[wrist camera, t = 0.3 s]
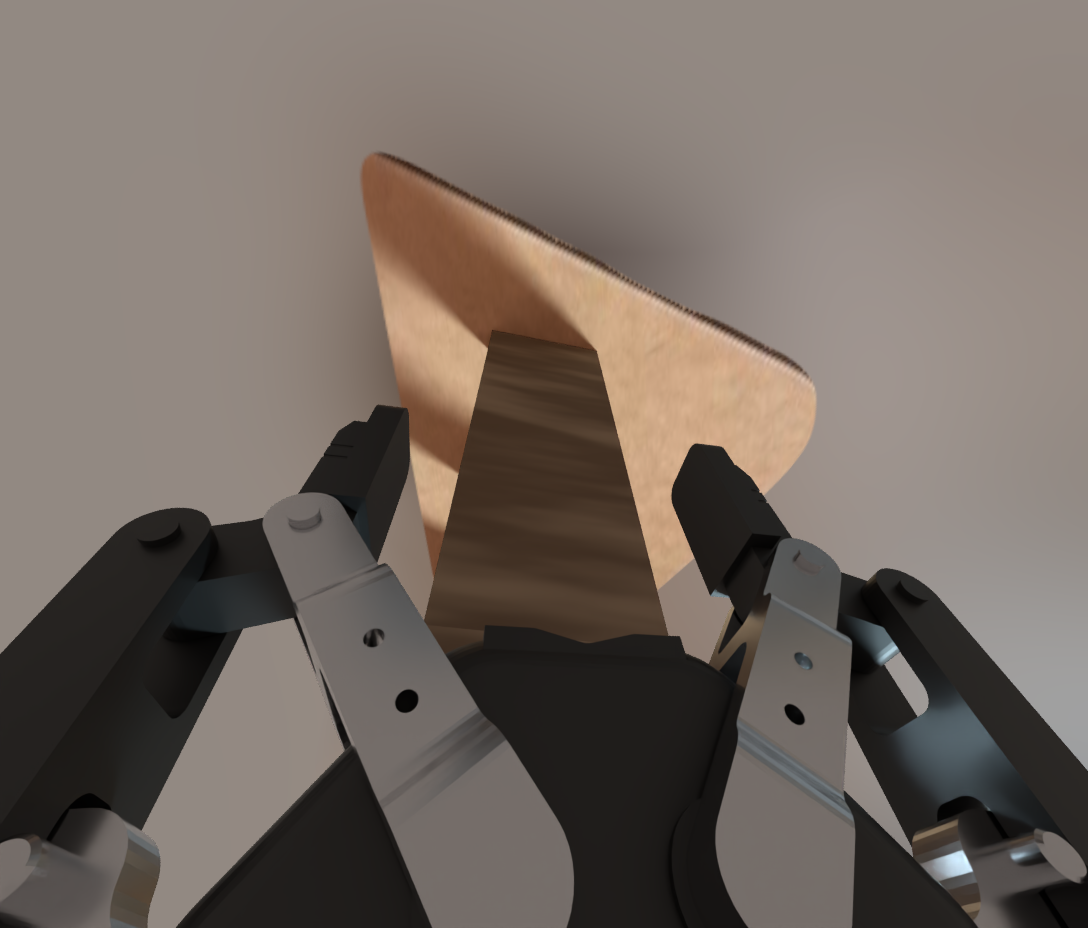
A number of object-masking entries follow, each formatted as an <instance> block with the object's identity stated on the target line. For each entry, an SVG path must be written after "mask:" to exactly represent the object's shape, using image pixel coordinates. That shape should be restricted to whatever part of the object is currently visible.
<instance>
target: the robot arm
mask: <svg viewBox="0 0 1088 928" xmlns="http://www.w3.org/2000/svg"><path fill="white" fill-rule="evenodd" d="M409 462H410V443H409V413H408V409H407V408H401V407H393V406H385V405H377V406H376V407H375V409H374V411H373V412H372V414H371V416H370V418H369V420H368V421H367V422H360V421H353V422H352V423H350V424H349V425H347V426H345V427H344V428H342V429H341V430H339V431H338V433H337V434H336V436H335V438H334V439H333V441H332V442H331V445H330V446H329V447H328V448H327V450H326V451H325V453H324V457H322V458H321V459H320V461H319V462H318V464H317V465H316V467H315V469H314V470H313V472H312V473H311V475H310V476H309V478H308V479H307V481H306V483H305V484H304V486H303V487H302V489H301V490H300V492H299V493H298V494H297V495H293V496H290V497H287V498H285V499H283V500H281V501H279V502H278V503H276V504H275V505H274V506H272V507H271V508H270V509H269V510H268V512H267V513H266V514H265V516H264V518H260V519H257V520H252V521H246V522H238V523H231V524H223V525H215V526H211V523H210V521H209V519H208V517H207V516H206V515H205V514H204V513H202V512H200V511H198V510H194V509H189V508H170V509H164V510H159V511H155V512H152V513H149V514H146V515H143V516H141V517H139V518H136V519H134V520H133V521H131V522H129V523H127V524H126V525H124V526H123V527H122V528H120V529H119V530H118V531H117V532H116V533H115V534H114V535H113V536H112V537H111V538H110V539H109V540H108V541H107V542H106V543H105V544H104V545H103V547H101V549H100V550H99V551H98V552H97V553H96V554H95V555H94V556H93V557H92V558H91V559H90V560H89V561H88V562H87V563H86V564H85V565H84V566H83V567H82V569H81V570H80V571H79V572H78V573H77V574H76V575H75V576H74V577H73V578H72V579H71V580H70V581H69V582H68V583H67V584H66V586H65V587H64V588H63V589H62V590H61V591H60V592H59V593H58V594H57V595H56V596H55V597H54V598H53V599H52V600H51V601H50V602H49V603H48V604H47V605H46V607H45V608H44V609H43V610H42V611H41V612H40V613H39V614H38V615H37V616H36V617H35V618H34V619H33V620H32V621H31V623H29V624H28V626H27V627H26V628H25V629H24V630H23V631H22V632H21V633H20V634H19V635H18V636H17V637H16V638H15V639H14V640H13V641H12V642H11V643H10V644H9V645H8V647H7V648H6V649H5V650H4V651H3V652H2V653H1V654H0V928H147V920H148V913H149V907H150V903H151V900H152V897H153V894H154V891H155V888H156V885H157V882H158V878H159V873H160V854H159V849H158V848H157V845H156V843H155V842H154V841H153V840H152V839H151V838H150V837H149V836H148V835H146V834H145V833H143V832H142V831H141V830H142V828H143V826H144V824H145V822H146V820H147V818H148V816H149V814H150V812H151V810H152V808H153V806H154V804H155V803H156V801H157V799H158V796H159V795H160V793H161V791H162V788H163V787H164V784H165V783H166V781H167V779H168V777H169V775H170V773H171V771H172V769H173V767H174V765H175V763H176V761H177V759H178V757H179V755H180V753H181V751H182V749H183V747H184V745H185V743H186V741H187V739H188V737H189V735H190V733H191V731H192V729H193V727H194V725H195V723H196V721H197V719H198V717H199V715H200V713H201V711H202V709H203V707H204V705H205V703H206V701H207V699H208V697H209V695H210V693H211V691H212V689H213V687H214V685H215V683H216V681H217V680H218V678H219V675H220V674H221V672H222V669H223V667H224V666H225V663H226V661H227V660H228V658H229V656H230V654H231V652H232V650H233V648H234V645H235V644H236V642H237V640H238V638H239V636H240V634H241V632H242V630H243V628H248V627H252V626H257V625H262V624H266V623H271V622H276V621H280V620H285V619H289V618H293V621H294V623H295V626H296V628H297V631H298V633H299V636H300V638H301V641H302V643H303V646H304V648H305V651H306V653H307V656H308V659H309V661H310V664H311V666H312V669H313V671H314V673H315V676H316V679H317V681H318V684H319V687H320V689H321V692H322V695H323V697H324V700H325V703H326V706H327V708H328V711H329V714H330V716H331V719H332V722H333V725H334V727H335V730H336V732H337V735H338V737H339V740H340V742H341V745H342V747H343V750H344V752H343V753H342V754H341V755H340V756H339V758H337V759H336V760H335V762H334V763H333V764H332V765H331V766H330V767H329V768H328V769H327V770H326V771H325V772H324V773H323V774H322V775H321V776H320V777H319V778H318V779H317V780H316V781H315V782H314V783H313V784H312V785H311V786H310V787H309V789H307V790H306V791H305V792H304V793H303V795H302V796H301V797H300V798H299V799H298V800H297V801H296V802H295V803H294V804H293V805H292V806H291V807H290V808H289V809H288V810H287V811H286V812H285V813H284V814H283V815H282V816H281V817H280V818H279V819H278V820H277V821H276V823H274V824H273V825H272V827H271V828H270V829H269V830H268V831H267V832H266V833H265V834H264V835H263V836H262V837H261V838H260V839H259V840H258V841H257V842H256V843H255V844H254V845H253V846H252V847H251V848H250V849H249V850H248V851H247V852H246V853H245V854H244V855H243V856H242V857H241V859H240V860H239V861H238V862H237V863H236V864H235V865H234V866H233V867H232V868H231V869H230V870H229V871H228V872H227V873H226V874H225V875H224V876H223V877H222V878H221V879H220V880H219V881H218V882H217V883H216V884H215V885H214V886H213V887H212V888H211V889H210V891H209V892H208V893H207V894H206V895H205V896H204V897H203V898H202V899H201V900H200V901H199V902H198V903H197V904H196V905H195V906H194V907H193V908H192V909H191V911H190V912H189V913H188V914H187V915H186V916H185V917H184V919H183V920H182V921H181V922H180V923H179V924H178V926H177V927H176V928H1088V771H1087V769H1086V768H1085V767H1084V766H1083V765H1082V764H1081V763H1080V761H1079V760H1078V759H1077V758H1076V757H1075V756H1074V754H1073V753H1072V752H1071V751H1070V750H1069V748H1068V747H1067V746H1066V745H1065V744H1064V743H1063V742H1062V740H1061V739H1060V738H1059V737H1058V736H1057V735H1056V733H1055V732H1054V731H1053V730H1052V729H1051V728H1050V726H1049V725H1048V724H1047V723H1046V722H1045V721H1044V719H1043V718H1042V717H1041V716H1040V715H1039V714H1038V712H1037V711H1036V710H1035V709H1034V708H1033V707H1032V706H1031V704H1030V703H1029V702H1028V701H1027V700H1026V699H1025V697H1024V696H1023V695H1022V694H1021V693H1020V691H1019V690H1018V689H1017V688H1016V687H1015V686H1014V685H1013V683H1012V682H1011V681H1010V680H1009V679H1008V678H1007V676H1006V675H1005V674H1004V673H1003V672H1002V671H1001V669H1000V668H999V667H998V666H997V665H996V664H995V662H994V661H993V660H992V659H991V658H990V657H989V655H988V654H987V653H986V652H985V651H984V650H983V648H981V646H980V645H979V644H978V643H977V641H976V640H975V639H974V638H973V637H972V636H971V635H970V633H969V632H968V631H967V630H966V629H965V628H964V626H963V625H962V624H961V623H960V622H959V621H958V619H957V618H956V617H955V616H954V615H953V614H952V612H951V611H950V610H949V609H948V608H947V607H946V606H945V604H944V603H943V602H942V601H941V600H940V598H939V597H938V596H937V595H936V594H935V593H934V592H933V591H932V590H931V589H929V588H928V587H927V586H926V585H925V584H923V583H921V582H920V581H919V580H917V579H915V578H914V577H912V576H910V575H908V574H906V573H904V572H901V571H898V570H894V569H888V568H885V569H880V570H879V571H877V573H876V574H875V575H873V577H871V578H870V579H869V580H868V581H865V580H863V579H860V578H857V577H853V576H851V575H847V574H845V573H842V572H840V569H839V567H838V566H837V564H836V563H835V561H834V560H833V559H832V558H831V557H830V556H829V555H828V554H826V553H825V552H824V551H822V550H821V549H820V548H818V547H817V546H815V545H813V544H811V543H809V542H806V541H803V540H800V539H794V538H792V537H791V535H790V534H789V533H788V531H787V530H786V528H785V527H784V525H783V524H782V522H781V521H780V520H779V518H778V517H777V515H776V514H775V512H774V511H773V509H772V508H771V506H770V505H769V504H768V503H766V499H765V497H764V496H763V494H762V493H759V489H758V487H757V486H756V484H755V483H754V481H753V480H752V478H751V477H750V476H749V475H747V474H746V473H745V472H744V471H743V470H741V469H740V468H739V467H738V466H737V465H734V463H733V462H732V460H731V459H730V457H729V456H728V454H727V453H726V451H725V450H724V448H722V447H720V446H713V445H705V444H694V445H693V446H692V447H691V448H690V450H689V452H688V454H687V456H686V458H685V460H684V462H683V465H682V467H681V469H680V471H679V473H678V476H677V478H676V480H675V482H674V484H673V488H672V504H673V507H674V509H675V512H676V514H677V516H678V519H679V521H680V524H681V526H682V528H683V531H684V533H685V536H686V538H687V541H688V543H689V545H690V548H691V550H692V553H693V555H694V557H695V560H696V562H697V564H698V567H699V569H700V572H701V574H702V577H703V579H704V581H705V584H706V586H707V589H708V591H709V594H710V596H716V597H729V598H730V600H731V602H732V604H733V607H732V608H731V609H730V611H729V613H728V615H727V618H726V620H725V623H724V625H723V628H722V631H721V633H720V636H719V639H718V642H717V644H716V647H715V649H714V652H713V654H712V657H711V660H710V662H709V664H707V663H706V662H704V661H702V660H700V659H698V658H696V657H693V656H691V655H689V654H686V653H685V651H684V648H683V645H682V642H681V639H680V636H663V635H646V634H631V635H626V636H622V637H617V638H612V639H607V640H603V641H598V642H593V643H583V642H580V641H576V640H573V639H570V638H567V637H563V636H560V635H557V634H553V633H550V632H547V631H544V630H540V629H537V628H528V627H511V626H494V625H485V628H484V635H483V641H478V642H473V643H470V644H467V645H464V646H461V647H458V648H456V649H454V650H452V651H450V652H448V653H446V654H444V652H443V650H442V649H441V647H440V646H439V644H438V642H437V641H436V639H435V638H434V636H433V634H432V633H431V631H430V630H429V628H428V626H427V625H426V623H425V622H424V620H423V619H422V617H421V615H420V614H419V612H418V610H417V609H416V607H415V605H414V604H413V602H412V601H411V599H410V597H409V596H408V594H407V593H406V591H405V589H404V588H403V586H402V585H401V583H400V582H399V580H398V578H397V577H396V575H395V574H394V572H393V570H392V569H391V568H390V567H389V566H388V565H387V564H385V563H384V564H382V565H378V564H377V562H378V559H379V556H380V553H381V550H382V547H383V545H384V542H385V539H386V536H387V533H388V530H389V527H390V525H391V522H392V519H393V516H394V513H395V510H396V507H397V505H398V502H399V499H400V496H401V493H402V490H403V487H404V484H405V482H406V479H407V475H408V470H409ZM899 652H901V654H902V655H903V656H904V658H905V659H906V661H907V662H908V664H909V665H910V667H911V668H912V670H913V671H914V672H915V674H916V675H917V677H918V678H919V680H920V681H921V682H922V684H923V685H924V687H925V689H926V691H927V694H928V698H929V704H928V708H927V710H926V712H924V713H923V714H922V715H920V716H919V717H917V715H916V714H915V712H914V711H913V709H912V707H911V706H910V704H909V703H908V701H907V700H906V698H905V696H904V695H903V693H902V692H901V690H900V689H899V687H898V686H897V684H896V682H895V681H894V679H893V678H892V676H891V675H890V673H889V672H888V670H887V669H886V667H885V665H884V664H885V663H886V662H888V661H889V660H890V659H892V658H893V657H894V656H895V655H897V654H898V653H899ZM847 723H849V726H850V728H851V729H852V731H853V734H854V735H855V737H856V739H857V741H858V743H859V745H860V747H861V749H862V751H863V753H864V755H865V757H866V759H867V761H868V763H869V765H870V767H871V769H872V770H873V773H874V774H875V776H876V778H877V780H878V782H879V784H880V786H881V788H882V790H883V792H884V794H885V796H886V798H887V800H888V802H889V804H890V806H891V807H892V810H893V811H894V813H895V815H896V817H897V819H898V821H899V823H900V825H901V827H902V829H903V831H904V833H905V835H906V837H907V839H908V841H909V843H910V845H911V847H912V852H913V857H912V856H911V855H910V854H909V853H908V852H906V850H905V849H904V848H903V847H901V846H900V845H899V844H898V843H897V842H896V841H895V840H894V839H893V838H892V837H891V836H890V835H889V834H888V833H887V832H886V831H885V830H884V829H883V828H882V827H881V826H880V825H879V824H878V823H877V822H876V821H875V820H874V819H873V818H872V817H871V816H870V815H869V814H868V813H867V812H866V811H865V810H864V809H863V808H862V807H861V806H860V805H859V804H858V803H857V802H856V801H855V800H853V798H852V797H850V796H849V795H848V794H847V793H846V792H845V791H844V774H845V757H846V740H847Z"/></svg>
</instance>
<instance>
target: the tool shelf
mask: <svg viewBox="0 0 1088 928" xmlns="http://www.w3.org/2000/svg"><path fill="white" fill-rule="evenodd" d="M424 622H425V623H426V625H427V626H428V628H429V630H430V631H431V633H432V634H433V636H434V638H435V639H436V641H437V642H438V644H439V646H440V647H441V649H442V650H443V652H444V654H446V653H448V652H450V651H452V650H454V649H456V648H458V647H461V646H464V645H467V644H470V643H473V642H478V641H483V635H484V628H485V625H494V626H511V627H528V628H537V629H540V630H544V631H547V632H550V633H553V634H557V635H560V636H563V637H567V638H570V639H573V640H576V641H580V642H583V643H593V642H598V641H603V640H607V639H612V638H617V637H622V636H626V635H631V634H646V635H663V636H668V632H667V628H666V624H665V620H664V616H663V612H662V608H661V604H660V600H659V596H658V593H657V588H656V584H655V581H654V577H653V573H652V569H651V565H650V561H649V557H648V553H647V549H646V545H645V541H644V537H643V533H642V529H641V525H640V521H639V517H638V513H637V509H636V505H635V501H634V497H633V493H632V489H631V485H630V481H629V477H628V473H627V469H626V466H625V462H624V458H623V454H622V450H621V446H620V442H619V438H618V434H617V430H616V426H615V422H614V418H613V414H612V410H611V406H610V402H609V398H608V394H607V390H606V386H605V382H604V378H603V374H602V370H601V366H600V362H599V358H598V354H597V351H594V350H589V349H584V348H579V347H574V346H569V345H564V344H559V343H554V342H549V341H544V340H539V339H534V338H529V337H524V336H519V335H513V334H508V333H503V332H498V331H493V330H492V335H491V339H490V343H489V347H488V352H487V356H486V360H485V364H484V369H483V373H482V377H481V381H480V386H479V390H478V394H477V398H476V403H475V407H474V411H473V415H472V420H471V424H470V428H469V432H468V436H467V441H466V445H465V449H464V453H463V458H462V462H461V466H460V470H459V475H458V479H457V483H456V487H455V492H454V496H453V500H452V504H451V509H450V513H449V517H448V521H447V526H446V530H445V534H444V538H443V543H442V547H441V551H440V555H439V560H438V564H437V568H436V572H435V577H434V581H433V585H432V589H431V594H430V598H429V602H428V606H427V611H426V615H425V619H424Z"/></svg>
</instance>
